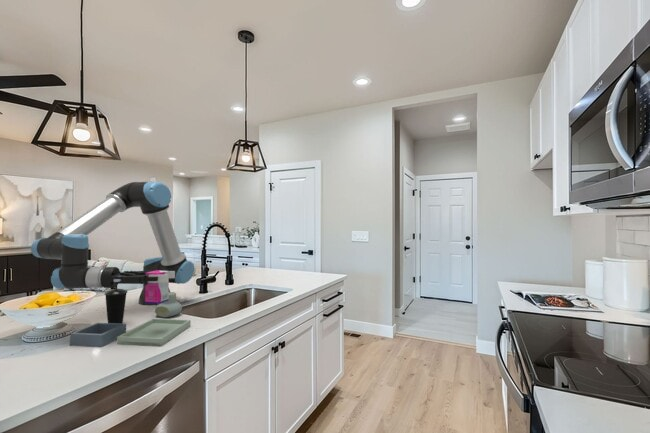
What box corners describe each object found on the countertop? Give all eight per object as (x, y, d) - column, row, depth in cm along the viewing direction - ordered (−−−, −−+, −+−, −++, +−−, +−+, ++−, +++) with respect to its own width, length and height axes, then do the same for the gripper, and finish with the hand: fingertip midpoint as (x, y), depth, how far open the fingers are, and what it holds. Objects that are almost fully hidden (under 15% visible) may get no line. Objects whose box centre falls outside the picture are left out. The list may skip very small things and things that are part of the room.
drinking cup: (115, 329, 120) (116, 278, 120) (98, 328, 121) (100, 277, 121) (131, 323, 127) (132, 275, 127) (115, 321, 129) (116, 274, 129)
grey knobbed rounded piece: (151, 317, 135) (151, 294, 136) (164, 311, 144) (165, 290, 144) (172, 319, 133) (173, 296, 133) (185, 313, 141) (185, 292, 141)
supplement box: (155, 299, 119) (156, 270, 119) (168, 300, 118) (169, 270, 118) (143, 303, 113) (144, 272, 114) (157, 304, 112) (158, 273, 112)
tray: (153, 324, 126) (153, 318, 126) (190, 326, 125) (190, 320, 125) (116, 344, 106) (116, 336, 106) (160, 346, 105) (161, 339, 105)
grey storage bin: (97, 333, 116) (97, 322, 116) (125, 334, 115) (126, 323, 115) (69, 345, 104) (70, 333, 105) (101, 347, 104) (101, 335, 104)
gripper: (117, 282, 122) (178, 281, 126) (88, 294, 102) (162, 292, 107) (117, 263, 122) (179, 263, 127) (89, 271, 102) (163, 270, 107)
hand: (171, 276), depth 117 cm, fingers closed on supplement box, 7 cm apart
